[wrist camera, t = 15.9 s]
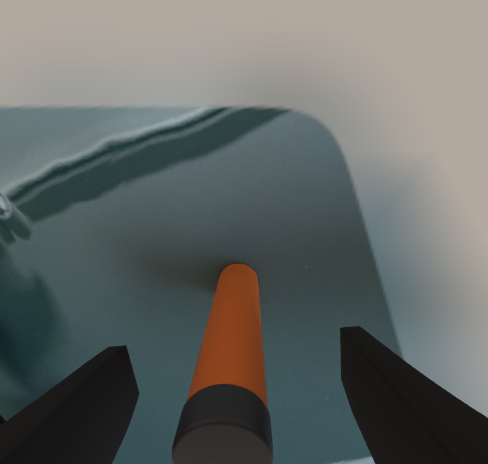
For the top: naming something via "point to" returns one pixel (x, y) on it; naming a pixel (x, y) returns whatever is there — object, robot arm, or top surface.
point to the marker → (228, 382)
